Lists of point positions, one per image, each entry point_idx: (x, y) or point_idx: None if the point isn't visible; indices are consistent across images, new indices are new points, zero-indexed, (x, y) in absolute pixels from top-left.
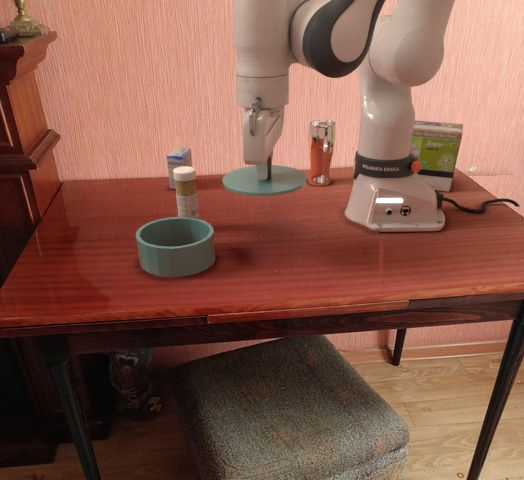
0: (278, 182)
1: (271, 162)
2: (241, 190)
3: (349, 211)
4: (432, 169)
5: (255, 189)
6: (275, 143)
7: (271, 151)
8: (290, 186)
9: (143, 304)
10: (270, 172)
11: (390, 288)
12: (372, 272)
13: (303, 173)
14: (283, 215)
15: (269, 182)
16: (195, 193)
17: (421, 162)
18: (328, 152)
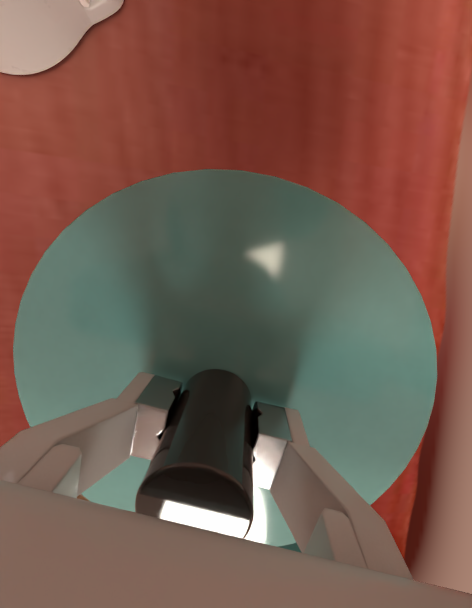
0: (296, 342)
1: (135, 399)
2: (369, 500)
3: (20, 49)
4: None
5: (370, 449)
6: (61, 527)
7: (359, 575)
8: (376, 288)
9: (393, 495)
10: (234, 394)
11: (443, 31)
12: (355, 63)
13: (160, 183)
14: (31, 247)
15: (288, 384)
16: (79, 497)
17: None
18: None
